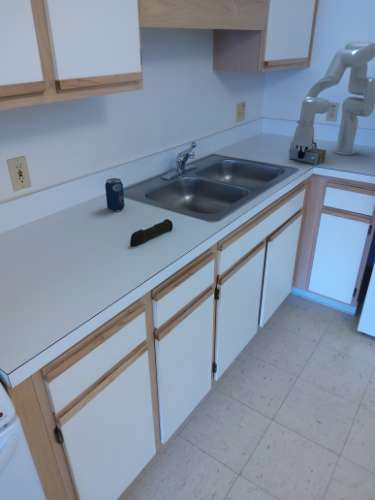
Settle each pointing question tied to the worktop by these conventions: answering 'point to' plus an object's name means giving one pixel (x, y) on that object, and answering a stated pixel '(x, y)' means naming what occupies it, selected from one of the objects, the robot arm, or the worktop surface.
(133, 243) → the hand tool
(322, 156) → the cabinet
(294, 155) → the door
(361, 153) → the worktop surface
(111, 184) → the soda can
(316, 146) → the grey arched panel
